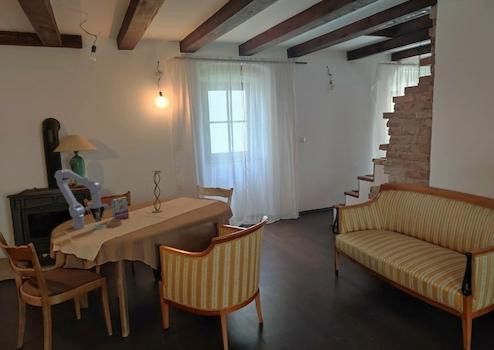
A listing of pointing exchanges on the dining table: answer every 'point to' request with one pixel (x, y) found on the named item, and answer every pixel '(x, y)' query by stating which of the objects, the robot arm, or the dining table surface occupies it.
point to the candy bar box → (119, 208)
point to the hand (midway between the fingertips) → (98, 218)
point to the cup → (114, 223)
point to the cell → (97, 216)
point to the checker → (98, 227)
